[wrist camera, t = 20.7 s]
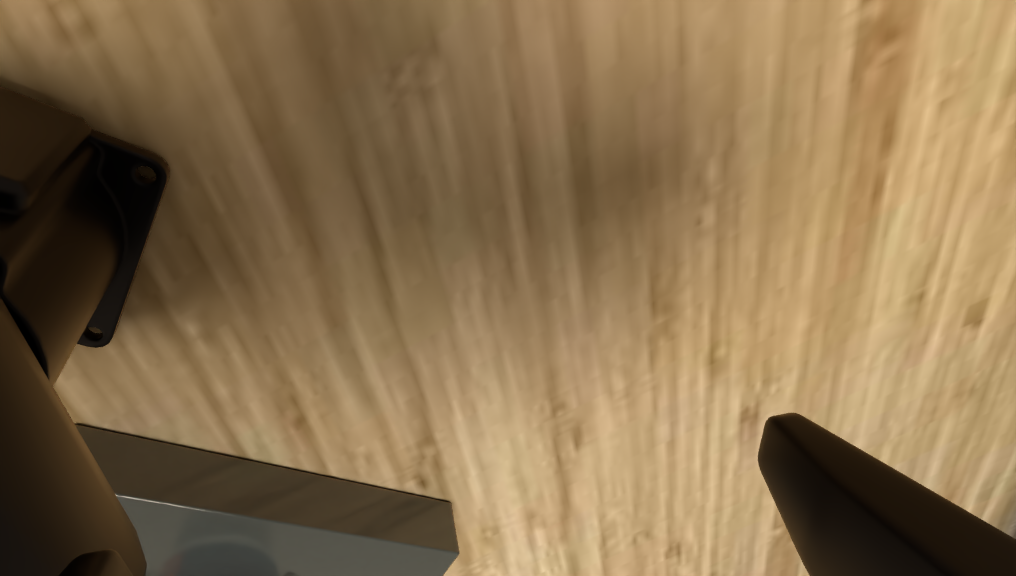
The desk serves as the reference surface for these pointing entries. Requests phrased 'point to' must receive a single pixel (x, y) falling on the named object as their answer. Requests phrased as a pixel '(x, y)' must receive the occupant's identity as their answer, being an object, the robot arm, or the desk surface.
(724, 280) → the desk surface
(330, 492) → the grey square slab
